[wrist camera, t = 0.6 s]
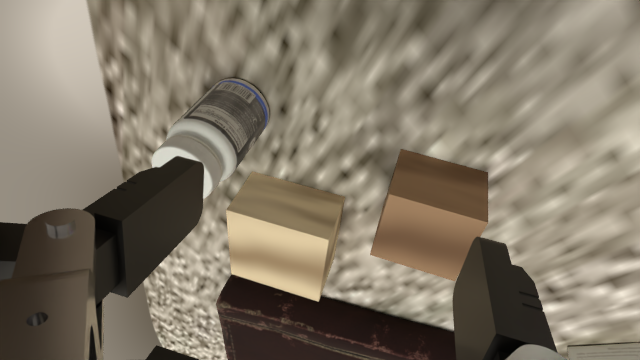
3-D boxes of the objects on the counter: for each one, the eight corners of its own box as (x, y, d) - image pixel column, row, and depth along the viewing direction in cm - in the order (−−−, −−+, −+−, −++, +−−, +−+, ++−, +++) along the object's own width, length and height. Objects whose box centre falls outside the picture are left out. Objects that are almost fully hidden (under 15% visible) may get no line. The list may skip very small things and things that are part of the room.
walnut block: (401, 147, 29) (389, 194, 26) (487, 171, 28) (488, 222, 25) (382, 207, 33) (370, 254, 30) (458, 229, 32) (454, 281, 29)
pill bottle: (239, 141, 33) (183, 213, 27) (199, 92, 31) (129, 157, 25) (283, 120, 31) (233, 194, 24) (243, 65, 29) (177, 130, 23)
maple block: (253, 169, 35) (226, 210, 31) (345, 195, 34) (328, 240, 30) (254, 233, 40) (231, 273, 37) (334, 257, 39) (318, 301, 35)
